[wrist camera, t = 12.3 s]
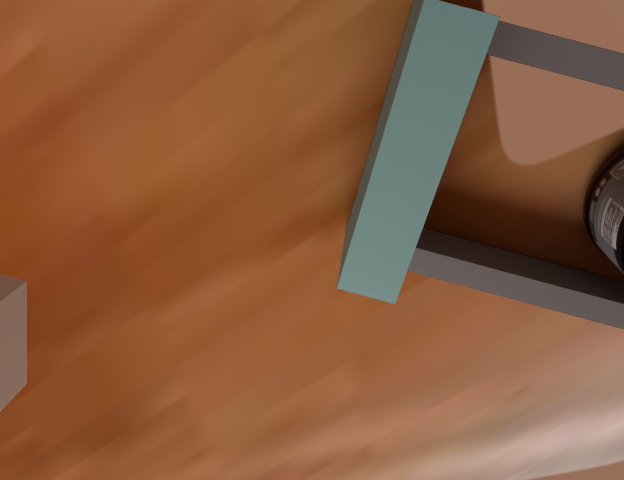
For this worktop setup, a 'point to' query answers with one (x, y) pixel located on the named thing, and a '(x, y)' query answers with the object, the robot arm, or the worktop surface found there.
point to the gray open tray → (433, 157)
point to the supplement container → (607, 209)
